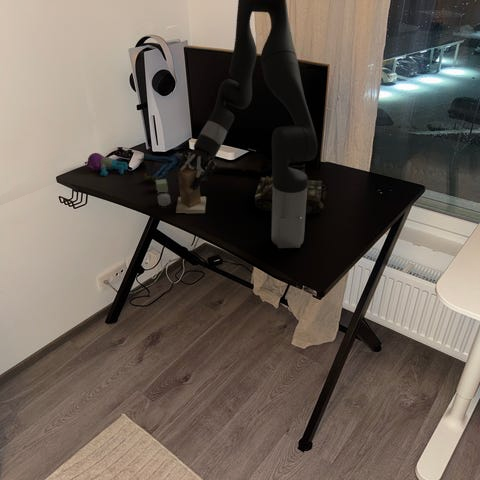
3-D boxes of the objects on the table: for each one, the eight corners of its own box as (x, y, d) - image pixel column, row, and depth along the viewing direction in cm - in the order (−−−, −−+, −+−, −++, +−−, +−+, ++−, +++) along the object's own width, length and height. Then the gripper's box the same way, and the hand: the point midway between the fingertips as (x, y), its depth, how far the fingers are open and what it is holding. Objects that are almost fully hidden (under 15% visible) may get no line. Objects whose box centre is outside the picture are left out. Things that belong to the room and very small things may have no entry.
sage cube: (168, 192, 157) (167, 183, 155) (158, 193, 156) (156, 184, 154) (166, 187, 160) (165, 178, 158) (156, 189, 159) (155, 180, 157)
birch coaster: (204, 213, 144) (204, 209, 143) (176, 213, 144) (176, 210, 143) (206, 199, 152) (205, 196, 151) (179, 200, 152) (178, 197, 151)
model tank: (259, 192, 156) (260, 151, 148) (325, 196, 152) (329, 154, 144) (253, 210, 145) (253, 167, 137) (324, 216, 142) (328, 171, 134)
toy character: (113, 168, 165) (149, 144, 184) (115, 179, 167) (150, 154, 186) (187, 180, 156) (216, 153, 175) (188, 192, 158) (217, 164, 177)
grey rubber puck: (170, 207, 148) (169, 199, 146) (157, 207, 148) (156, 199, 146) (171, 201, 151) (170, 193, 150) (159, 201, 151) (158, 193, 150)
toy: (130, 169, 178) (94, 160, 179) (131, 154, 174) (93, 145, 175) (117, 183, 168) (79, 173, 169) (117, 167, 164) (78, 157, 165)
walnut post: (200, 202, 147) (198, 171, 141) (190, 207, 145) (187, 176, 139) (191, 198, 150) (188, 167, 144) (181, 203, 147) (177, 172, 141)
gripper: (188, 128, 144) (163, 174, 143) (220, 139, 136) (194, 188, 135) (201, 139, 150) (177, 184, 150) (233, 150, 142) (207, 197, 141)
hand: (185, 186), depth 142 cm, fingers open, 6 cm apart
